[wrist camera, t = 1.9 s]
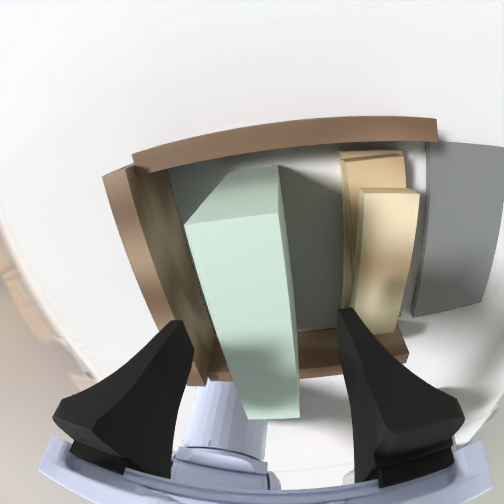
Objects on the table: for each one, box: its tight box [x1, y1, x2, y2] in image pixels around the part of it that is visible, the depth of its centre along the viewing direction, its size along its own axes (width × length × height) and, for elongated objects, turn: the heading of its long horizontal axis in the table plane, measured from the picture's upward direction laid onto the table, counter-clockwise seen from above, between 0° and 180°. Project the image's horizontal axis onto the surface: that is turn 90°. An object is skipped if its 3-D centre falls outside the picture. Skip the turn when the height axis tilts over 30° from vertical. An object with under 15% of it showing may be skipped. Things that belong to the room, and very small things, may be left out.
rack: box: [102, 116, 438, 387], centre depth 17 cm, size 17×17×5 cm
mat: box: [411, 141, 504, 318], centre depth 16 cm, size 14×8×1 cm, turn 9°
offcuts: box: [339, 149, 420, 335], centre depth 17 cm, size 13×4×4 cm, turn 9°
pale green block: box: [184, 165, 300, 419], centre depth 15 cm, size 12×3×9 cm, turn 9°
